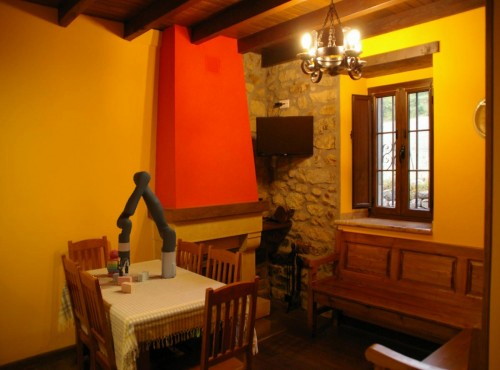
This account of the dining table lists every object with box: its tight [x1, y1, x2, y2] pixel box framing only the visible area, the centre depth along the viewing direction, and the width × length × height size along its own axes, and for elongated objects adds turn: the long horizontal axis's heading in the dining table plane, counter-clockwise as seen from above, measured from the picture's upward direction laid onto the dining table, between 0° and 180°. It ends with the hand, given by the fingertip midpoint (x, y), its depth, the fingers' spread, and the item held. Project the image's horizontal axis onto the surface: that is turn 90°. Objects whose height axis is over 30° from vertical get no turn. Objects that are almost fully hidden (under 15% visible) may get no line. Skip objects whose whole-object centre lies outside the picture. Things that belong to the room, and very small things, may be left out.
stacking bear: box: [106, 248, 125, 278], centre depth 278 cm, size 11×10×18 cm
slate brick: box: [112, 272, 128, 283], centre depth 263 cm, size 8×4×5 cm, turn 84°
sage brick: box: [137, 270, 150, 283], centre depth 266 cm, size 8×4×5 cm, turn 165°
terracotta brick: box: [117, 275, 133, 286], centre depth 256 cm, size 8×4×5 cm, turn 84°
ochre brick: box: [120, 282, 136, 294], centre depth 241 cm, size 8×4×5 cm, turn 61°
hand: (123, 274), depth 255 cm, fingers open, 8 cm apart
